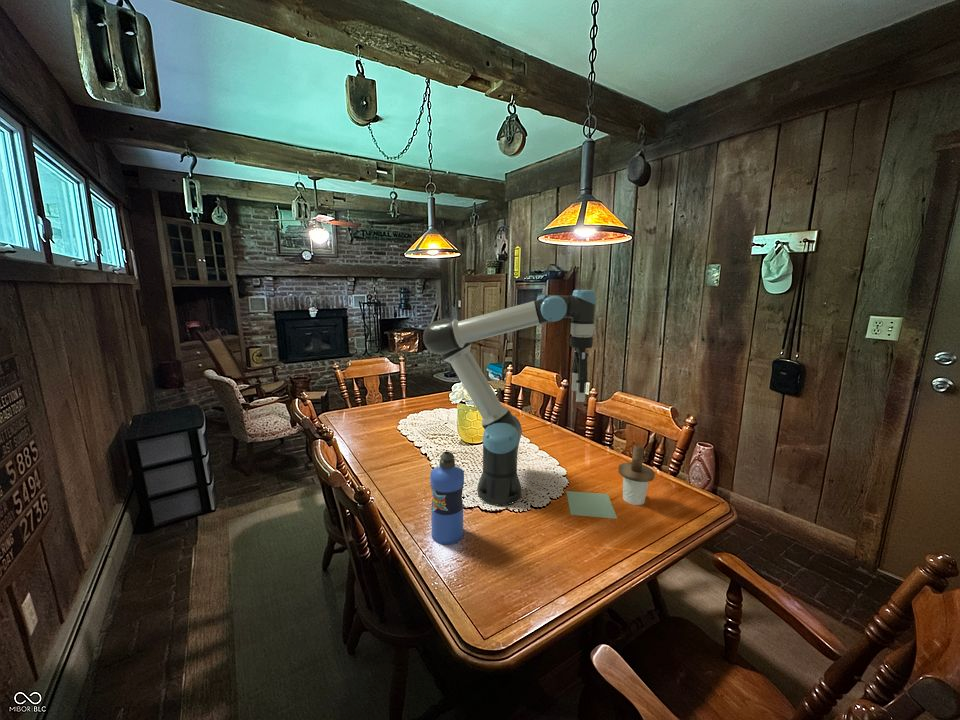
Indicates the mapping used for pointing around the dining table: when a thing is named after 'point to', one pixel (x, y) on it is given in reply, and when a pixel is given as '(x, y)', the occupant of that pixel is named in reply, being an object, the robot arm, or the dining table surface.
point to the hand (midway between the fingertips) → (577, 396)
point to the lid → (637, 467)
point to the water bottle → (447, 501)
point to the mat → (590, 504)
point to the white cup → (634, 491)
